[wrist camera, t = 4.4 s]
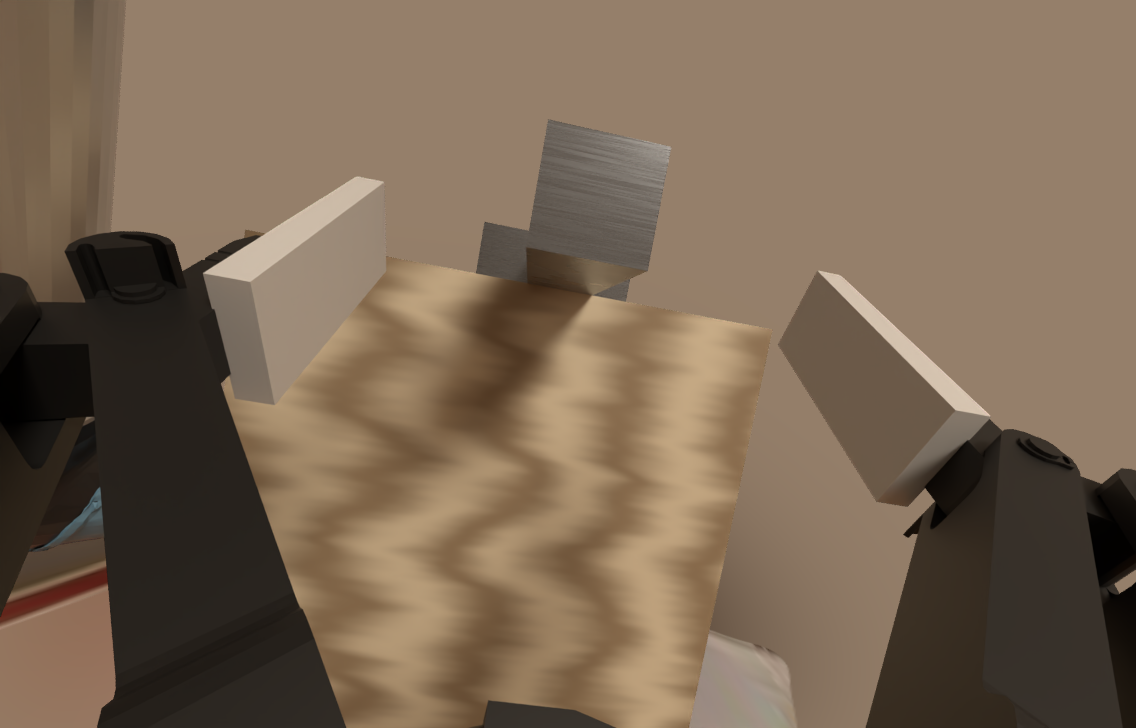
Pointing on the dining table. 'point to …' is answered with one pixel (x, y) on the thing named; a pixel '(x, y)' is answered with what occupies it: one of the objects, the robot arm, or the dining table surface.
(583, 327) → the zigzag patterned box
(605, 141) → the t handle
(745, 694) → the dining table surface
